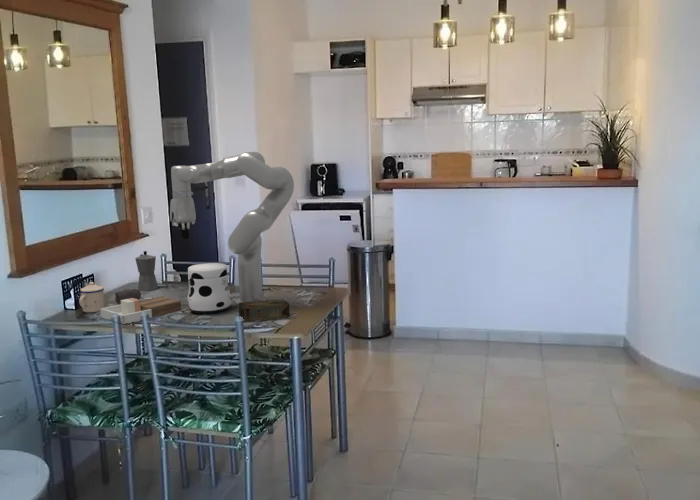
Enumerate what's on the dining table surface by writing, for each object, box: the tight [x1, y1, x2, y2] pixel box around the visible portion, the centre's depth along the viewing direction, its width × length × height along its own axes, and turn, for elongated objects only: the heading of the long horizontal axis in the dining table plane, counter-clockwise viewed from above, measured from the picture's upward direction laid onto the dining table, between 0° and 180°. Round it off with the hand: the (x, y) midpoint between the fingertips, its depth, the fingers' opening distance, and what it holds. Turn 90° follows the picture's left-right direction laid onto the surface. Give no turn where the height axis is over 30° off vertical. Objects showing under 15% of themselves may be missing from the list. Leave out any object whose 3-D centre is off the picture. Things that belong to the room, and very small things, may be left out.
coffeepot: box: [135, 250, 159, 292], centre depth 307 cm, size 15×9×18 cm, turn 32°
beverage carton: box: [238, 298, 291, 323], centre depth 251 cm, size 8×19×7 cm, turn 105°
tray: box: [99, 304, 153, 324], centre depth 257 cm, size 18×12×4 cm, turn 47°
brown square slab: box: [140, 296, 182, 318], centre depth 266 cm, size 14×14×4 cm
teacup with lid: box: [78, 281, 106, 313], centre depth 268 cm, size 12×9×12 cm
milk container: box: [186, 262, 232, 314], centre depth 264 cm, size 17×17×18 cm
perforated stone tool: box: [114, 288, 142, 305], centre depth 278 cm, size 15×5×7 cm, turn 157°
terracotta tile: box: [128, 298, 141, 312], centre depth 259 cm, size 6×6×2 cm
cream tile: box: [121, 299, 135, 315], centre depth 257 cm, size 6×6×2 cm
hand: (185, 238), depth 278 cm, fingers closed
